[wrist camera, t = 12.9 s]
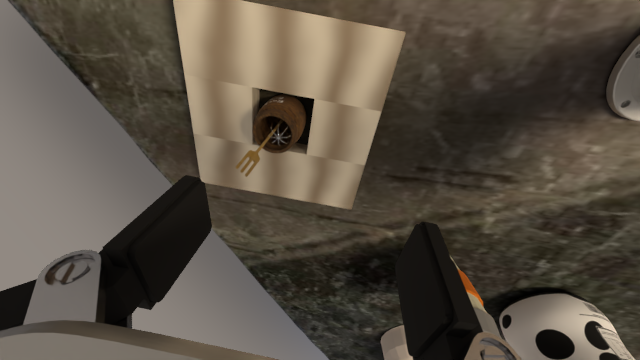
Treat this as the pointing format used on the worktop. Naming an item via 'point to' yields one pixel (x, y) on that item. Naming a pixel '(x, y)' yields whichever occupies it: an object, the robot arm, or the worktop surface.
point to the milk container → (560, 329)
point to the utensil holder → (276, 127)
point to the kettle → (395, 344)
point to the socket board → (290, 78)
